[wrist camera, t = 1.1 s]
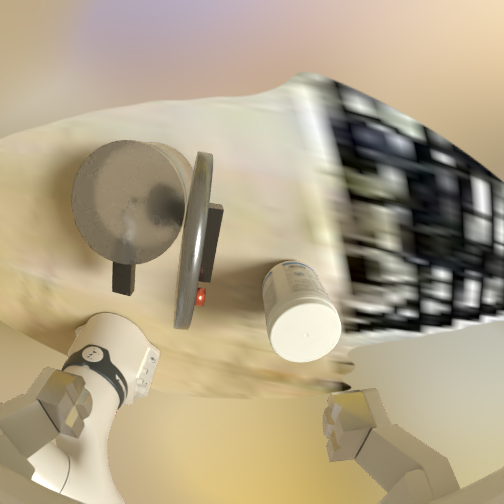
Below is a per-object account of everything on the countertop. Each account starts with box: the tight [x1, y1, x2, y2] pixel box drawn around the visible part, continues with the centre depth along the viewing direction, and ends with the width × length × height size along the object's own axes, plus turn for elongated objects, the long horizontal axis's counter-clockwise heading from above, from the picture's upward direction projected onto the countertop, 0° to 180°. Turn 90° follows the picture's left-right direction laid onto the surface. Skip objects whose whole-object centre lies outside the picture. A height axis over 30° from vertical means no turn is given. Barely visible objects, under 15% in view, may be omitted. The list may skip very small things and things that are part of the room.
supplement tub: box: [262, 261, 341, 362], centre depth 43 cm, size 10×10×15 cm
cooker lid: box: [174, 152, 224, 330], centre depth 28 cm, size 16×16×3 cm
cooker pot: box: [72, 140, 193, 296], centre depth 40 cm, size 21×16×11 cm
